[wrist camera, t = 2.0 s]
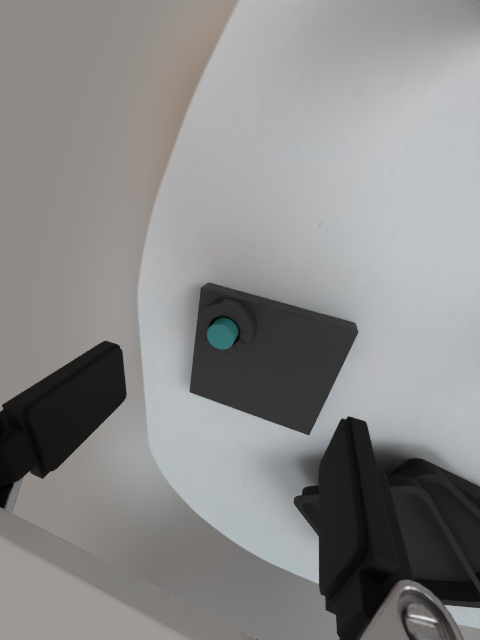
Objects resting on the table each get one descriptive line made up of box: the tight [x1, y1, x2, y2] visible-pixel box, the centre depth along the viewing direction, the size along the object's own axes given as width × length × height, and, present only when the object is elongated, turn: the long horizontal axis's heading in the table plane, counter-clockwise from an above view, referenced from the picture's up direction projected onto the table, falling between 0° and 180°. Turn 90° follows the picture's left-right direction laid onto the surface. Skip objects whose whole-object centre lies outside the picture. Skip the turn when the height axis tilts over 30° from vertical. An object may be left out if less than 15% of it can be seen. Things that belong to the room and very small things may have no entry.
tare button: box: [207, 318, 238, 349], centre depth 23 cm, size 3×3×2 cm
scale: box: [190, 283, 358, 435], centre depth 26 cm, size 15×14×4 cm
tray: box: [294, 459, 480, 608], centre depth 29 cm, size 30×23×5 cm
